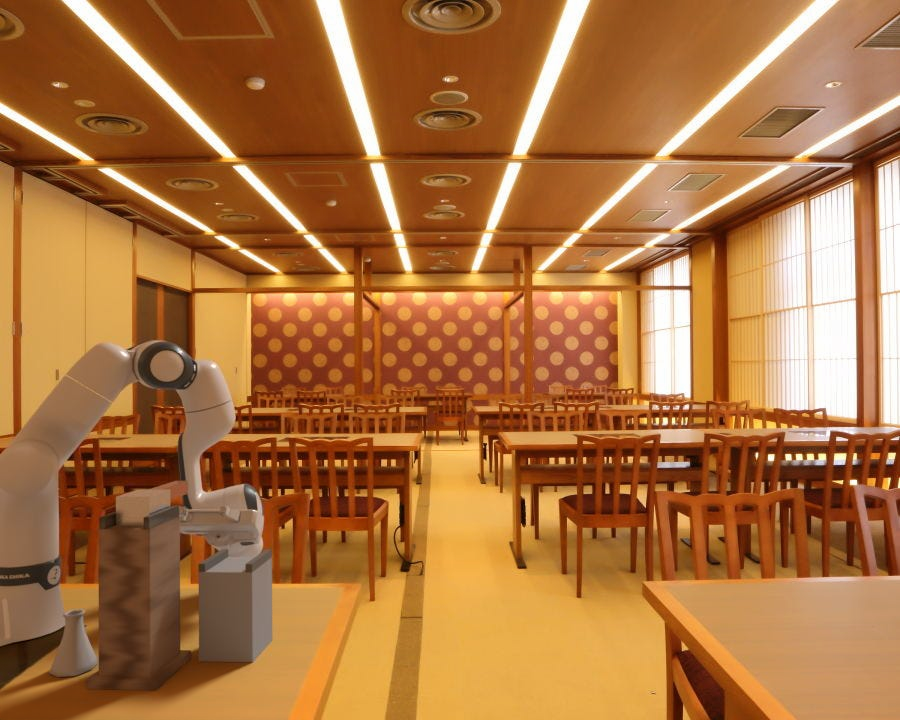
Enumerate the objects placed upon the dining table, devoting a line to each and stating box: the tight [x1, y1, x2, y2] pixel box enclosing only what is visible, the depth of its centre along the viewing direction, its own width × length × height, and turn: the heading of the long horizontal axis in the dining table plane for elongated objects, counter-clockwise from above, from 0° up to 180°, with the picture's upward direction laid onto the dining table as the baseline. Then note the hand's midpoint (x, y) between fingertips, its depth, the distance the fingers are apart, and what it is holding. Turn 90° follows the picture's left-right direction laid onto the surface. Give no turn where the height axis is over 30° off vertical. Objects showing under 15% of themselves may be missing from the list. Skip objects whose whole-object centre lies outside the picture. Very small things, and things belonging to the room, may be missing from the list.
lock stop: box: [115, 480, 188, 526], centre depth 119 cm, size 6×17×5 cm, turn 175°
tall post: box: [85, 505, 192, 691], centre depth 113 cm, size 12×12×28 cm
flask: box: [48, 608, 99, 678], centre depth 115 cm, size 7×7×10 cm
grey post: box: [198, 548, 274, 663], centre depth 122 cm, size 10×10×18 cm
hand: (201, 509), depth 136 cm, fingers open, 8 cm apart
